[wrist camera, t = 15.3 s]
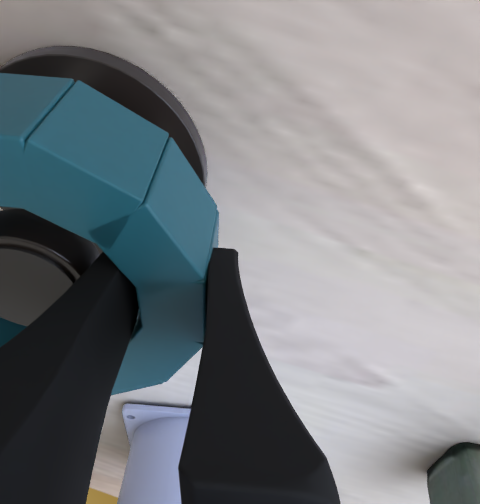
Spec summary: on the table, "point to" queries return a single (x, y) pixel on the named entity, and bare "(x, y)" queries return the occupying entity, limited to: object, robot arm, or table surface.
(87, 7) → the table surface
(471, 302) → the table surface
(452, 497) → the grey-green upright box
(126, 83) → the dark grey round knob
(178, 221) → the ring
